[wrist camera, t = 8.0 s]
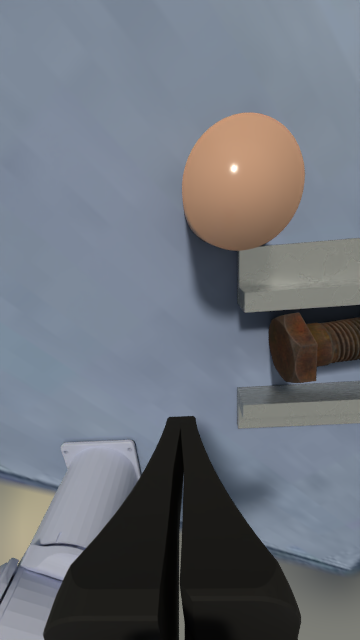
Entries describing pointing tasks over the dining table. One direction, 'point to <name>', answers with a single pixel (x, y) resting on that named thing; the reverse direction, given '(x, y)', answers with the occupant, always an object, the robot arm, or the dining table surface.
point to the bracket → (298, 293)
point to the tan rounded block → (242, 182)
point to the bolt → (311, 345)
